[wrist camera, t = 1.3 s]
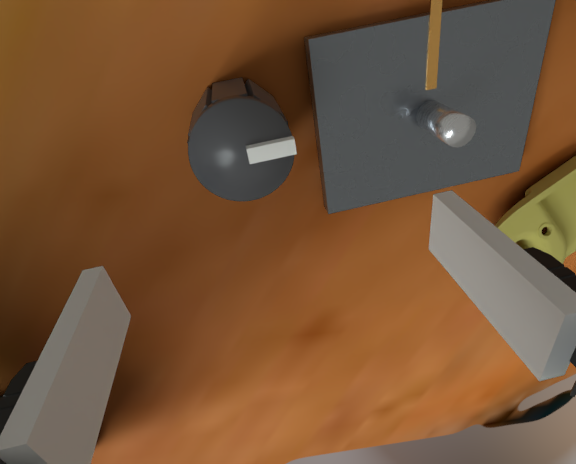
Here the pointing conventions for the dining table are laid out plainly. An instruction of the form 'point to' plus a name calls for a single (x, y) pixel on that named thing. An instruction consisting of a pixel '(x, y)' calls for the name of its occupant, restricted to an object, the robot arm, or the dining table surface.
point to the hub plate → (425, 99)
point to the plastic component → (546, 214)
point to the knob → (240, 141)
